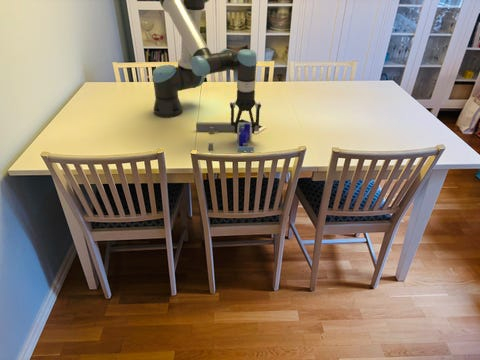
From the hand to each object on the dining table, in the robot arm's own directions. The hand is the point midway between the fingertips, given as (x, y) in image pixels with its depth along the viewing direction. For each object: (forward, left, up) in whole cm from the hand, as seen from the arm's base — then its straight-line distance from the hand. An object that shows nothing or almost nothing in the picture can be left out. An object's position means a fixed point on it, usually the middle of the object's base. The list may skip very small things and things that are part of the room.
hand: (244, 138), depth 154 cm
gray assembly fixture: (-7, 0, -1) cm, 8 cm away
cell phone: (+2, +16, -2) cm, 16 cm away
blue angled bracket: (0, -1, -1) cm, 1 cm away
